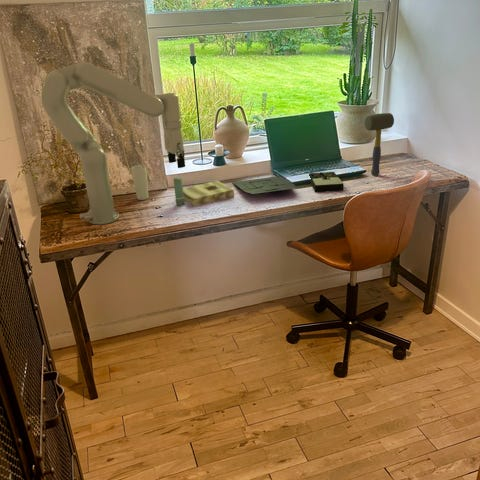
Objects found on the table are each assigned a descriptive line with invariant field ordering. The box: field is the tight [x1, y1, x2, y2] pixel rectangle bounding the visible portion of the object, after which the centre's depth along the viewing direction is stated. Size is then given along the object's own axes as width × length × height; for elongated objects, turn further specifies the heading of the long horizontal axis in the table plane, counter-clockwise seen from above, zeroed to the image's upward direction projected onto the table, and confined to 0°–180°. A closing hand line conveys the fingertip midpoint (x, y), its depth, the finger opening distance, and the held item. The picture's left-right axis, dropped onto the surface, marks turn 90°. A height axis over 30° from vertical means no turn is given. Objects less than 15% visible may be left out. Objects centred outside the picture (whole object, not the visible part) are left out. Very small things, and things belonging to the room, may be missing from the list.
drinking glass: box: [130, 164, 150, 201], centre depth 217 cm, size 7×7×15 cm
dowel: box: [173, 176, 185, 207], centre depth 209 cm, size 4×4×12 cm
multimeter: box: [308, 171, 345, 193], centre depth 225 cm, size 13×19×5 cm
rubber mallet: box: [364, 112, 395, 177], centre depth 229 cm, size 12×8×30 cm, turn 108°
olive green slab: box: [183, 180, 235, 207], centre depth 218 cm, size 20×16×4 cm
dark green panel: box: [232, 175, 296, 195], centre depth 224 cm, size 24×30×4 cm
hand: (177, 164), depth 204 cm, fingers open, 9 cm apart
